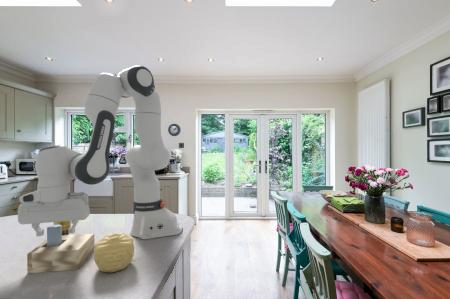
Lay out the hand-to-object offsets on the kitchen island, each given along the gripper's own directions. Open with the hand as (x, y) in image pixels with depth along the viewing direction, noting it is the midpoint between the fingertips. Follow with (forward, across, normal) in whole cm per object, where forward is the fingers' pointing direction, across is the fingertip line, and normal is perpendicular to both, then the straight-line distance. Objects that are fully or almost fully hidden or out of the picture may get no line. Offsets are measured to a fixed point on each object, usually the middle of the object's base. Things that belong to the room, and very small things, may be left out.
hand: (56, 234), depth 78 cm
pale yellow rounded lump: (+9, -20, +8) cm, 24 cm away
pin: (+7, 0, 0) cm, 7 cm away
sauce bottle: (+9, +11, -28) cm, 31 cm away
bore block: (+9, -2, 0) cm, 9 cm away
